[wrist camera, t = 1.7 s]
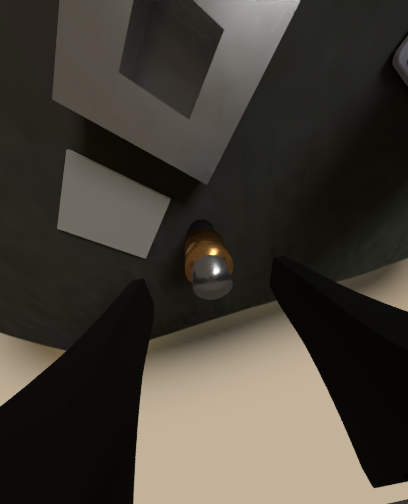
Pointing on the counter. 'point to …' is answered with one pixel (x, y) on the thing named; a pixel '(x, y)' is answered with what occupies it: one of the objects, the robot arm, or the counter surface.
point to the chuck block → (167, 70)
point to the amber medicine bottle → (207, 261)
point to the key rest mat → (109, 206)
